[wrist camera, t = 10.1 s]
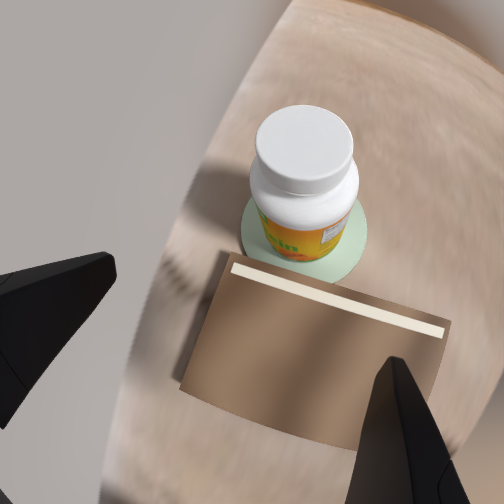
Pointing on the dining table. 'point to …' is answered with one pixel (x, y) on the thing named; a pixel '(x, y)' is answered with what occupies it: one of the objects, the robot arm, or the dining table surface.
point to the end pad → (323, 269)
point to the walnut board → (304, 351)
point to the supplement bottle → (303, 181)
